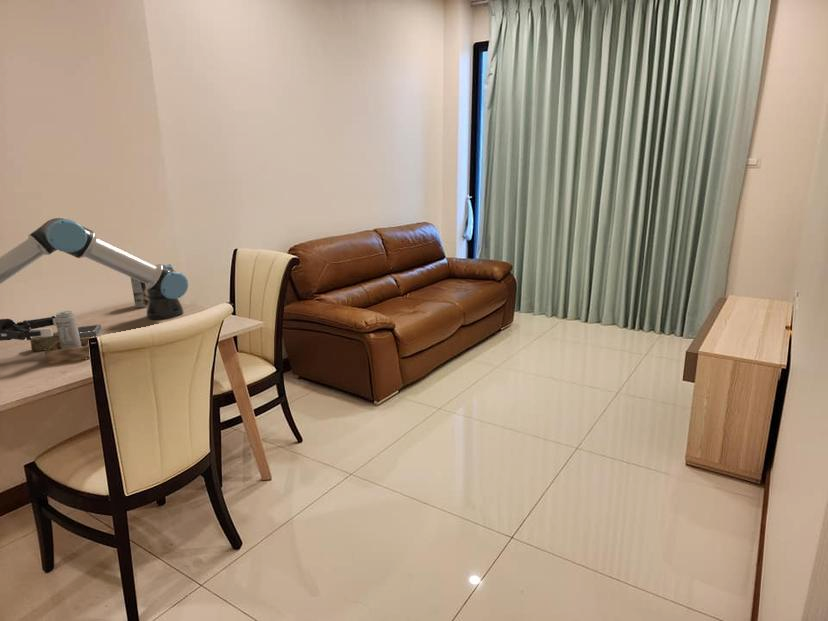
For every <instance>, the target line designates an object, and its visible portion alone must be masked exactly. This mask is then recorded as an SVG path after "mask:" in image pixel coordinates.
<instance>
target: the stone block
mask: <svg viewBox="0 0 828 621" xmlns="http://www.w3.org/2000/svg"><path fill="white" fill-rule="evenodd" d="M29 341H30V346H31V347H30V349H31V351H33V352H40V351H41V350H42V351H46V350H47V349H48V348H49V347H50V346H51V345H52V344H53V343H54V342H55V341H60V340H59V335H58V331H56V332H53V336H48V337H31V340H29ZM45 349H46V350H45ZM42 351H41V352H42Z"/></svg>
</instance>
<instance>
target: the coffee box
mask: <svg viewBox="0 0 828 621" xmlns="http://www.w3.org/2000/svg"><path fill="white" fill-rule="evenodd" d="M130 281H131V282H130V283H131V289H132V295H133V300H134V301H133V302H134V308H143V307H144V308H145V307H146V308H147V307H148V302H149V299H148V293H147V288H146V286H145V283H143V282H140V281H138V280H136V279H134V278H131V277H130ZM144 308H143V309H144Z"/></svg>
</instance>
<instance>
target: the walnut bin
mask: <svg viewBox="0 0 828 621" xmlns="http://www.w3.org/2000/svg"><path fill="white" fill-rule="evenodd" d="M94 337H96V336H94ZM89 338H91V337H85V338H80V341H81V346H82V347H76V348H68V349H61V344H60V341H55V342H54V343H53V344H52V345H51V346H50V347H49V348H48V349H46V350H45V351H44V354H45V359H46V363H47V365H55V364H54V363H56V364H63V363H69V361H71V362H76V361H75V360H78V361H82V360H81V359H85V360H90V359H89V358H90V357H89V345H88V339H89ZM96 338H97V337H96ZM86 358H87V359H86ZM62 362H63V363H62Z"/></svg>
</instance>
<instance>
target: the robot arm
mask: <svg viewBox="0 0 828 621" xmlns="http://www.w3.org/2000/svg"><path fill="white" fill-rule="evenodd" d="M55 251H58V252H59V251H60V252H61V253H62V252H63V253H65V254H68V255H70V256H72V257H75V258H76V259H81V258H87V259H89V260H91V261H94V262H96V263H98V264H99V265H102V266H104V267H107V268H109V269H111V270H114V271H116V272H118V273H121V274H123V275H125V276H127V277H129V278H130V279H131V278H134V279H136V280H138V281H140V282H143V283H145V286H146V288H147V293H148V299H149V302H148V307H146V317H147V318H148V319H150V320H165V318H166V319H171V318H176V317H179V316H182V315H183V314H184V308H183V305H182V303H181V302H180V300H179V299H180V298H181V297H183V296H184V295H185V294H186V293H187V291H188V289H189V281H188V278H187V276H186V275H184V274H183V273H182V272H180V271H177V270H175V269H174V268H173V265H172V264H171V263H165V264H161V263H158V264H153V263H151V262H150V261H147V260H145V259H143V258H141V257H139V256H136V255H135V254H132V253H130V252H128V251H126V250H124V249H122V248H119V247H117V246H115V245H113V244H111V243H109V242H107V241H105V240H103V239H100V238H99V237H97V236H96V234H95V232H94V231H93V230H91V229H89V228H86V227H84V226H83V225H81V224H79V223H78V222H76V221H75V220H72V219H69V218H68V219H67V218H61V217H58V218H57V217H55V218H51V219H49V220H47V221H46V222H44V223H43V224H42V225H41V226H40V227H38V228H37V229H35V230H34V231H32V232H31V233H30V234H28V238H27V239H25V240H24V241H23V242H21V243H19V244H18V245H16V246H15V247H13V248H12V249H10V250H9V251H7V252H6V253H4V254H3V255H1V256H0V285H1V284H2V283H4V282H5V281H7V280H8V279H10V278H11V277H13V276H14V275H16V274H17V273H19V272H20V271H22V270H23V269H25V268H26V267H28V266H29V265H31V264H33V263H34V262H35V261H37V260H38V259H40V258H41V257H43V256H45V255H46V256H49V255H51V254H52V253H54V252H55ZM55 318H56V316H55V315H52V316H50V317H42V318H37V319H36V318H35V319H27V320H25V319H24V320H22V321H19V322H15V321H14V320H12V318H0V341H2V342H3V341H11V340H19V341H25V340H26V341H30V340H31V338H34V337H48V336H53V333H54V332H53V329H52V327H51V326H54V327H57V326H56V321H55ZM46 327H47V328H46Z"/></svg>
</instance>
